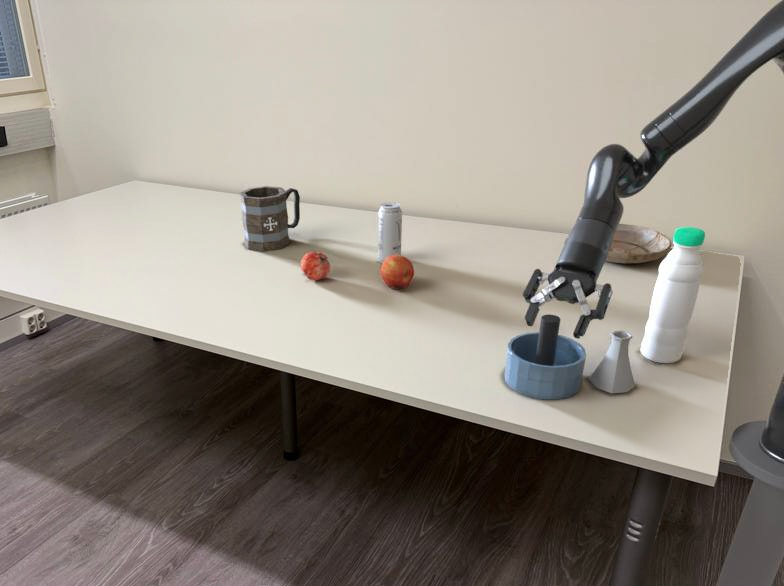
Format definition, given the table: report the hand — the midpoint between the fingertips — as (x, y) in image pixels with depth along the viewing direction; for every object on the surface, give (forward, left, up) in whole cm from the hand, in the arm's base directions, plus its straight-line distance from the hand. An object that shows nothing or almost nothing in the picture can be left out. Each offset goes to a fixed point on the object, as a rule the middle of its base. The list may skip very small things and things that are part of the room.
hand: (551, 330), depth 118 cm
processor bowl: (0, +1, -10) cm, 10 cm away
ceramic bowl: (+21, -67, -10) cm, 71 cm away
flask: (-10, -6, -10) cm, 15 cm away
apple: (+48, -12, -10) cm, 51 cm away
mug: (+98, -13, -10) cm, 100 cm away
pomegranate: (+67, -2, -10) cm, 68 cm away
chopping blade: (0, +1, -9) cm, 9 cm away
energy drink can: (+62, -24, -10) cm, 67 cm away
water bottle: (-11, -22, -10) cm, 26 cm away
